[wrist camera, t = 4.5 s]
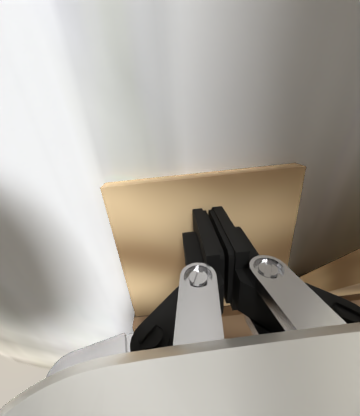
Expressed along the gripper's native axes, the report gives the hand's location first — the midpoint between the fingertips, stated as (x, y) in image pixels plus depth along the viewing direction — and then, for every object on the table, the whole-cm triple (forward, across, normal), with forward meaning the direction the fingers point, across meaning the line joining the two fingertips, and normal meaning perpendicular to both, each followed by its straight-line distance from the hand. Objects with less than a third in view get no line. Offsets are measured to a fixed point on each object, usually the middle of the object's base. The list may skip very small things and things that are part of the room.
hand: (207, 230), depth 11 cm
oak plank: (+2, 0, +2) cm, 3 cm away
